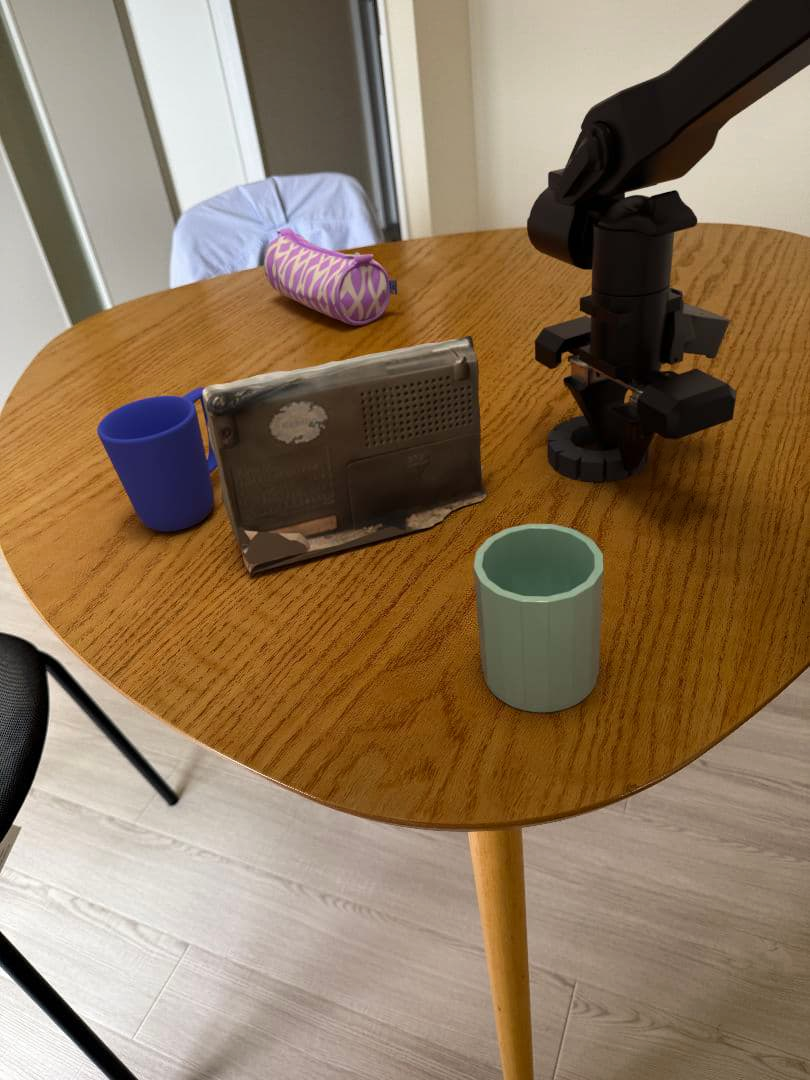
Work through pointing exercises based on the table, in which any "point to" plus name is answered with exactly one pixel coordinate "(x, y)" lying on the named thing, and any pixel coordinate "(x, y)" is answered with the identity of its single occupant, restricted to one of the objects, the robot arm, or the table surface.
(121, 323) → the table surface
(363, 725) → the table surface
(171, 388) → the table surface
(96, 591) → the table surface
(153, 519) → the mug
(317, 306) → the pencil case
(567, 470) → the ring
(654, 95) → the robot arm
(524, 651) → the cup
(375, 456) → the radio
